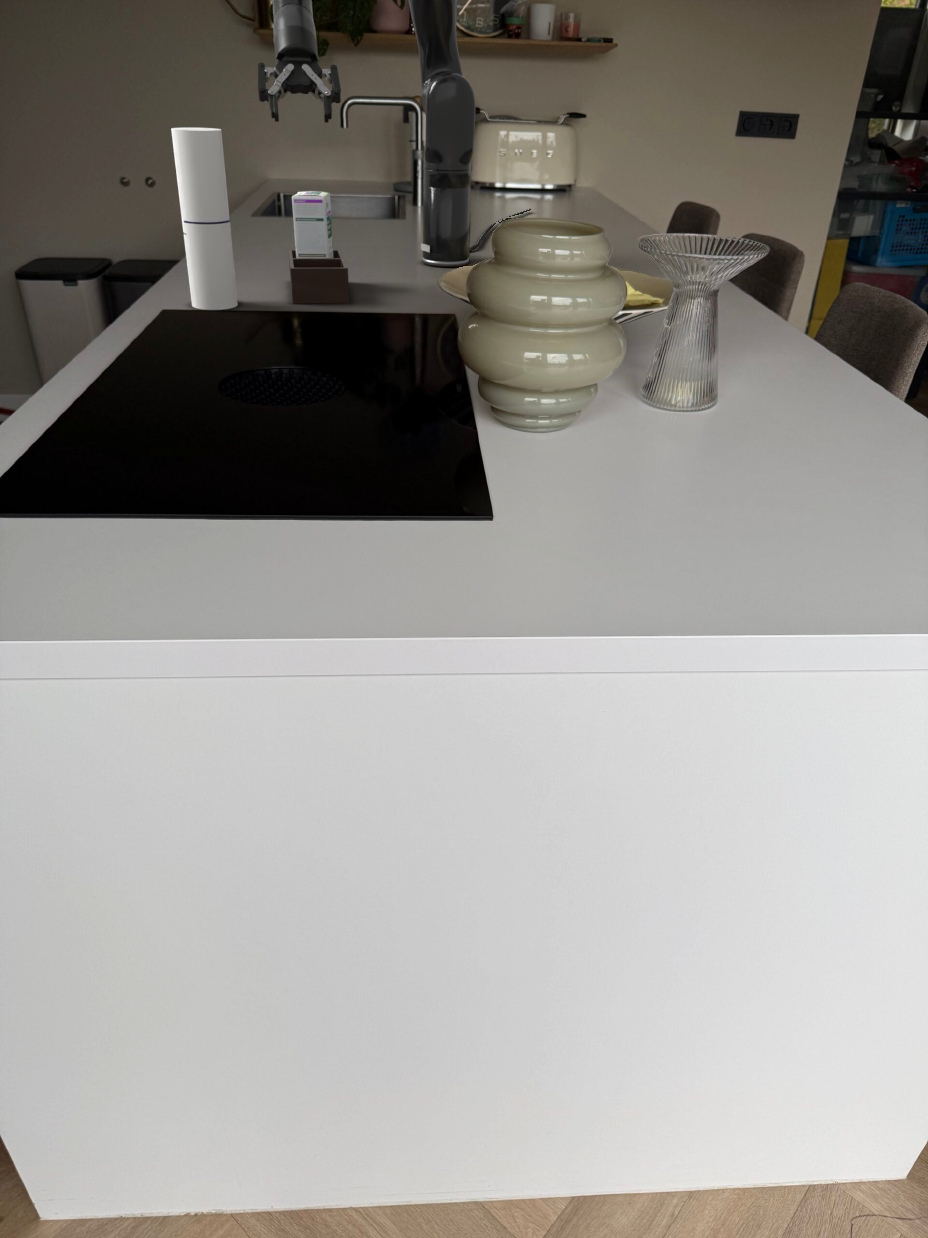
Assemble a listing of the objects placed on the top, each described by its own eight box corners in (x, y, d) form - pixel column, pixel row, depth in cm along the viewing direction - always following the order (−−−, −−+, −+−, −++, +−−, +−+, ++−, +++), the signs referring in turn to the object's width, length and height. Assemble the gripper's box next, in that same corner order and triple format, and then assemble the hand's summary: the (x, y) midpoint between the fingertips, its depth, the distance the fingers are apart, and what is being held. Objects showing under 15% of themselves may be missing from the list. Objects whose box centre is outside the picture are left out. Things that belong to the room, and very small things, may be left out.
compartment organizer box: (290, 282, 165) (288, 249, 162) (341, 281, 166) (340, 249, 163) (292, 303, 150) (290, 268, 147) (349, 303, 151) (347, 267, 148)
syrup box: (330, 286, 159) (326, 194, 151) (296, 285, 159) (291, 193, 151) (335, 280, 164) (331, 191, 156) (302, 279, 164) (297, 190, 156)
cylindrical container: (211, 311, 143) (192, 130, 130) (182, 304, 146) (160, 127, 134) (247, 304, 148) (231, 129, 135) (217, 298, 151) (200, 126, 139)
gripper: (252, 21, 158) (258, 100, 154) (335, 24, 160) (343, 102, 156) (256, 58, 165) (261, 134, 161) (335, 60, 167) (342, 135, 163)
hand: (301, 118), depth 159 cm, fingers open, 8 cm apart
